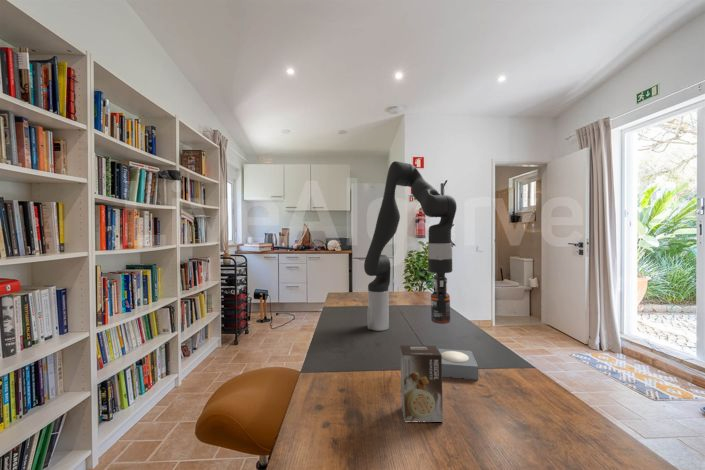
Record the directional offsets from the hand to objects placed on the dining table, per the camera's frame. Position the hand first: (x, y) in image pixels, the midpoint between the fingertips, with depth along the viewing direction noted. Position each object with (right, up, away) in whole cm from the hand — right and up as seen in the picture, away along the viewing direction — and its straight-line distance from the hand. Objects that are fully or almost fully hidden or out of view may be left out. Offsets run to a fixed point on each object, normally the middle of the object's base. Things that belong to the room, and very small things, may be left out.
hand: (440, 309), depth 100 cm
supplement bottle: (0, -4, 0) cm, 4 cm away
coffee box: (-12, -20, -25) cm, 34 cm away
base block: (+4, -19, -1) cm, 20 cm away
